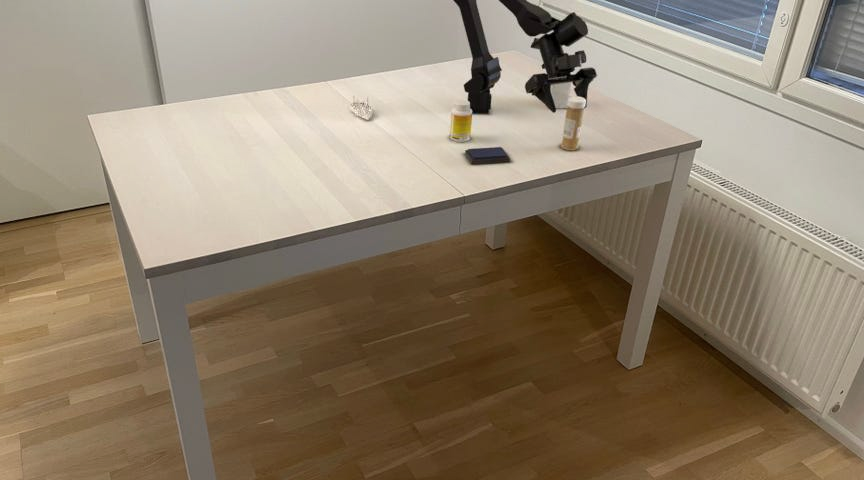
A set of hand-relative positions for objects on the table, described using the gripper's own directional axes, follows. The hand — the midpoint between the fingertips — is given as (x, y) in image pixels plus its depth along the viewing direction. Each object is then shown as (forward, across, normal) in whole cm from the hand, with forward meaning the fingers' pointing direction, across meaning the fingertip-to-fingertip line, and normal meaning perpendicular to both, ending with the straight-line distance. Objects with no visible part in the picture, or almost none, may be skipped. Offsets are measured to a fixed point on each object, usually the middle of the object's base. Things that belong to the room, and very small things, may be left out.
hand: (570, 110), depth 188 cm
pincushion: (-21, -44, +34) cm, 60 cm away
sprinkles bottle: (+8, 0, +5) cm, 10 cm away
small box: (-12, +14, +26) cm, 32 cm away
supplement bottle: (-2, -25, +16) cm, 30 cm away
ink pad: (+7, -24, +6) cm, 26 cm away
